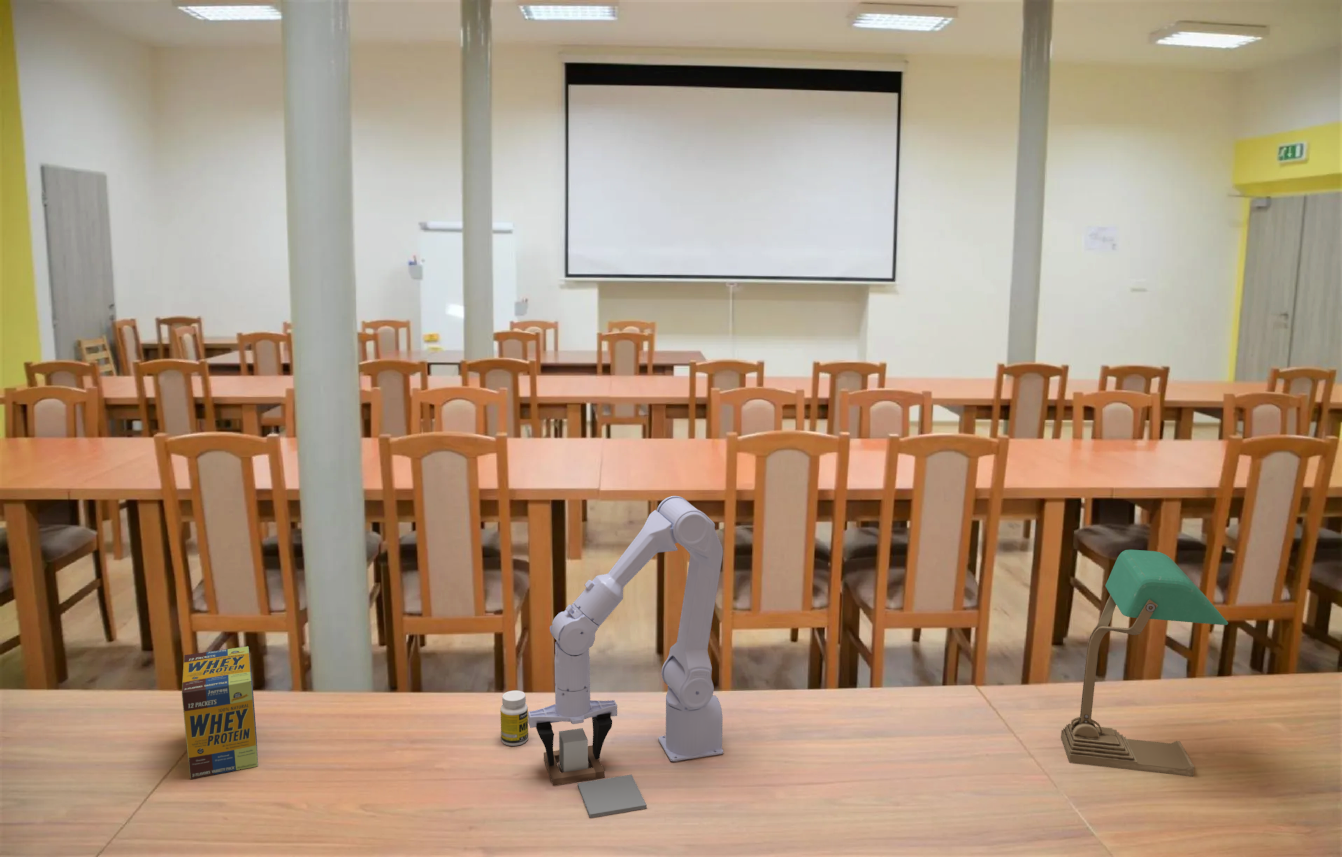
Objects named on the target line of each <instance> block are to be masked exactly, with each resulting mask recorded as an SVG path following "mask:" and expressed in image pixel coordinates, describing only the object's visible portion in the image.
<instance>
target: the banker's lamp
mask: <svg viewBox="0 0 1342 857" xmlns="http://www.w3.org/2000/svg"><path fill="white" fill-rule="evenodd" d="M1105 588H1106V590H1107V592H1108V593H1109V597H1108V599H1107V600H1106V603H1105V605H1104V608H1103V611H1102V613H1101V616H1100V618H1099V621H1098V622H1097V624H1096V625H1095V627H1094V629H1093V630H1092V631H1091V634H1090V635H1089V637H1088V638H1089V639H1088V641H1087V646H1086V655H1085V656H1086V657H1085V664H1084V665H1085V666H1084V674H1083V684H1082V693H1081V694H1082V695H1081V703H1080V714H1079V716H1078V717H1074V718H1072V719H1071V721H1070V723H1067V724H1066V726H1064V728H1063V729H1061V733H1060V739H1061V742H1062V745H1063V748H1064V752H1065V754H1066V757H1067V760H1068V763H1070V764H1077V765H1078V764H1079V765H1089V766H1096V767H1104V768H1105V767H1106V768H1113V769H1125V770H1132V771H1133V770H1134V771H1142V772H1143V771H1144V772H1149V773H1150V772H1151V773H1160V774H1169V775H1178V776H1186V777H1187V776H1188V777H1194V773H1195V772H1194V771H1195V765H1194V763H1193V762H1192V760H1191V758H1190V756H1189V755H1188V753H1187V751H1186V750H1185V748H1184V746H1183V744H1182V742H1181V741H1180V740H1176V741H1173V742H1161V741H1151V740H1150V741H1149V740H1144V739H1143V740H1141V739H1132V738H1127V737H1126V736H1124V735H1123V734H1121V733H1120V732H1119V731H1117V729H1114V728H1113V727H1105V726H1101V725H1100V723H1099V722H1097V720H1096V721H1095V720H1094V719H1092V715H1093V713H1092V712H1093V705H1094V696H1095V695H1094V694H1095V687H1096V686H1095V684H1096V675H1097V665H1098V654H1099V649H1100V645H1101V642H1102V640H1103V638H1104V636H1105V635H1106V634H1107V633H1109V632H1117V633H1123V634H1128V635H1131V636H1138V635H1140V634H1141V633H1142V632H1143V630H1144V628H1145V627H1146V625H1147V623H1148V621H1149V620H1158V621H1170V622H1173V621H1174V622H1181V623H1182V622H1183V623H1184V622H1185V623H1194V624H1206V625H1207V624H1208V625H1218V626H1227V625H1228V624H1229V622H1228V620H1226V618H1225V617H1224V616H1223V615H1222V614H1221V612H1220V611H1219V610H1218V609H1217V608H1216V606H1215V605H1214V604H1213V603H1212V601H1210V600H1209V598H1208V597H1207V596H1206V595H1205V594H1204V593H1203V591H1202V590H1200V588H1199V587H1198V586H1197V585H1196V584H1195V583H1194V581H1192V579H1190V577H1189V576H1188V575H1187V574H1186V573H1185V572H1184V571H1183V569H1181V568H1180V567H1179V566H1178V565H1177V563H1176V562H1175V561H1174V560H1173V559H1172V558H1171V557H1169V556H1168V555H1167V554H1165V553H1162V552H1160V551H1155V550H1143V549H1142V550H1139V549H1125V550H1123V551H1122V552H1120V554H1119V555H1118V556H1117V559H1116V560H1115V563H1114V565H1113V567H1112V569H1111V572H1110V573H1109V577H1108V579H1107V581H1106V583H1105ZM1116 607H1117V608H1118V610H1119V612H1120V614H1121V615H1123V617H1128V618H1133V619H1134V618H1136V619H1135V621H1134V623H1133V624H1132V625H1131V626H1130V627H1120V626H1119V627H1115V626H1109V624H1110V622H1111V619H1112V617H1113V614H1114V612H1115V609H1116Z"/></svg>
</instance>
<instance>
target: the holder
mask: <svg viewBox="0 0 1342 857" xmlns="http://www.w3.org/2000/svg"><path fill="white" fill-rule="evenodd" d="M553 755H554V766H549V763H548V760H547V753H546V751H544V752H543V760H544V764H545V766H546V769H547V773H548V775H549V778H550V781H551V784H552V787H553V786H554V787H556V786H559V785H560V786H561V785H567V784H572V783H581V782H587V781H593V780H600V779H606V778H605V776H606V775H605V769H604V766H603V765H602V762H601V760H600V758H599V759H595V757H594V755H593V744H591V745H588V766H589V767H590V768H589V767H588V769H582V770H575V771H569V772H561V771H560V768H559V765H558V762H559V763H560V761H559V749H557V750H553Z"/></svg>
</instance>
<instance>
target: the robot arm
mask: <svg viewBox="0 0 1342 857" xmlns="http://www.w3.org/2000/svg"><path fill="white" fill-rule="evenodd" d="M715 527H716V524H715V522H714V521H713V520H712V519H711V518H709V517H708V515H707V514H706V513H704V511H701V510H700V509H698V508H696V507H695V506H694V505H693V504H691V503H690V502H689V501H688V500H686V498H684V497H682V496H678V495H672V496H668V497H665V499H662V501H661V502H660V503H659V505H658V506H657V508H656V509H654V510H653V511H652V512H651V513H649V515H648V517H647V519H646V521H645V523H644V525H643V526H642V528H641V530H640V531H639V533H638V534H637V535H636V536H635V538H634V539H633V540H632V541H631V543H630V544H629V545H628V547H627V548H626V549H625V551H624V552H623V553H622V554H621V556H620V557H619V558H618V560H617V561H616V562H615V564H614V565H613V567H611V569H610V570H609V572H608V573H605V574H604V573H603V574H597V575H596V576H595V577H594V578H593V579H592V580H591V579H588V580H587V581H586V582H585V584H584V586H585V588H584V590H583V591H582V592H581V593H580V595H579V596H578V597H577V598H576V599H575V600H574V601H573V603H572V604H568V605H567V606H566V608H565V610H564V611H560V612H558V614H557V615H556V616H555V617H554V618H553V620H552V623H551V624H552V625H549V632H550V634H551V636H552V637H553V638H554V640H556V641H555V642H554V695H555V696H554V698H555V701H554V702H555V703H554V704H551V705H549V706H545V707H542V708H539V709H535V710H529V711H528V727H529V728H531V729H532V728H535V729H536V731H537V735H538V736H539V738H540V740H541V741H542V743H543V746H544V749H545V752H546V753H547V760H548V763H549V766H554V755H553V751H554V735H555V733H554V731H553V725H552V724H554V723H559V722H565V723H566V722H567V723H568V722H569V723H571V724H572V725H579V724H582V723H584V721H585V720H586V719H589V718H590V719H591V721H592V722H591V723H592V745H593V755H594V757H595V759H599V760H600V757H601V752H602V749H603V745H604V742H605V739H606V738H607V735H608V734H609V731H610V730H611V729H612V726H613V719H612V717H617V716H618V704H617V702H616V700H615V699H610V700H594V699H591V657H590V649H591V648H592V647H593V646H594V644H595V641H596V632H597V631H598V629H599V628H600V627H601V625H602V624H604V622H605V621H606V620H607V618H608V617H609V616H610V615H611V614H612V612H614V610H615V609H616V608H617V607H618V606H619V605H620V603H621V602H622V601H623V600H624V588H625V586H627V584H628V583H629V582H631V580H633V578H634V577H635V576H636V575H637V574H638V573H639V572H640V571H641V570H642V569H643V568H644V567H645V566H647V564H648V563H649V561H650V560H652V559H653V557H655V556H656V555H657V554H658V553H665V552H666V553H667V552H677V551H678V550H679V549H678V548H677V545H676V544H679V545H680V546H681V547H683V548H684V549H685V550H686V551H687V552H688V554H689V561H688V568H687V575H686V581H685V586H684V593H683V600H682V607H681V614H680V619H679V625H678V626H679V627H678V632H677V639H676V642H675V643H674V644H673V645H672V646H671V647H669V652H668V656H667V659H666V660H665V661H664V663H663V665H662V667H661V678H662V679H661V680H662V681H663V683H665V684H666V685H667V692H666V696H665V735H660V736H658V741H659V743H660V745H661V748H662V749H663V751H664V752H665V754H666V756H667V758H668V759H669V760H670V762H679V761H684V760H685V761H686V760H691V759H699V758H704V757H710V756H716V755H718V756H719V755H722V754H724V749H723V710H722V709H723V708H722V705H721V703H720V702H721V701H720V700H719V697H717V695H715V694H714V691H715V688H714V682H713V680H712V671H713V668H712V664H711V659H710V656H709V652H708V648H709V642H710V637H711V629H712V625H713V624H712V623H713V617H714V611H715V604H716V599H717V594H718V593H717V592H718V588H719V587H718V586H719V580H720V575H721V574H720V573H721V568H722V562H723V556H724V548H723V545H722V543H721V541H720V538H719V536H718V533H717V530H716V528H715Z"/></svg>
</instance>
